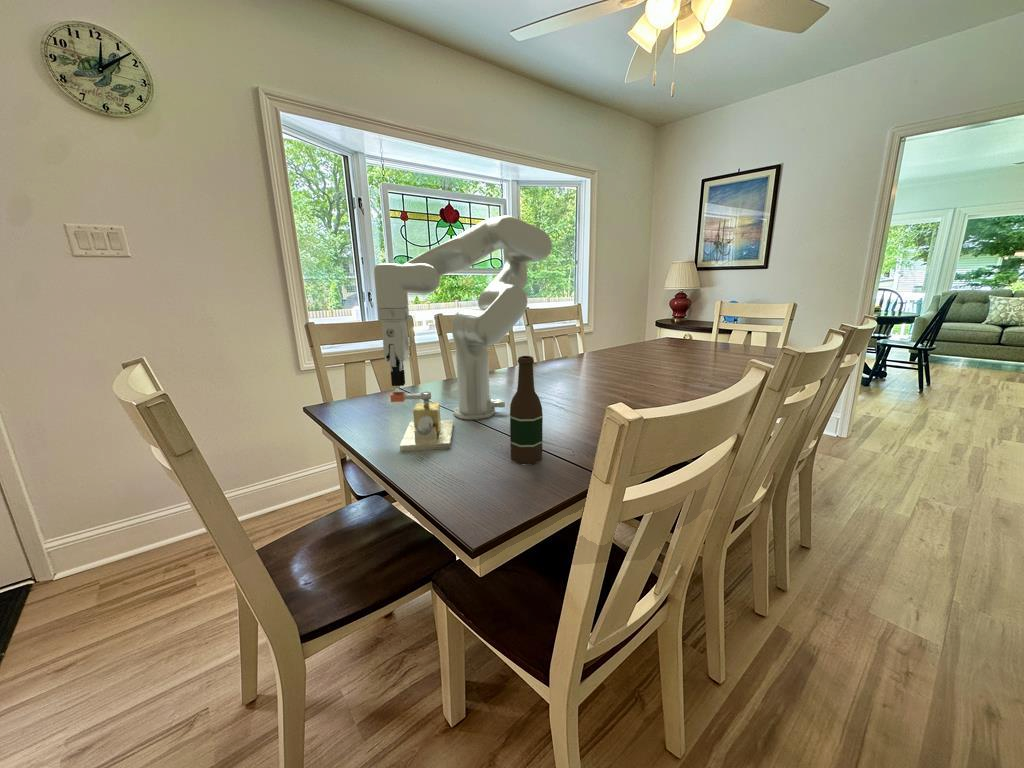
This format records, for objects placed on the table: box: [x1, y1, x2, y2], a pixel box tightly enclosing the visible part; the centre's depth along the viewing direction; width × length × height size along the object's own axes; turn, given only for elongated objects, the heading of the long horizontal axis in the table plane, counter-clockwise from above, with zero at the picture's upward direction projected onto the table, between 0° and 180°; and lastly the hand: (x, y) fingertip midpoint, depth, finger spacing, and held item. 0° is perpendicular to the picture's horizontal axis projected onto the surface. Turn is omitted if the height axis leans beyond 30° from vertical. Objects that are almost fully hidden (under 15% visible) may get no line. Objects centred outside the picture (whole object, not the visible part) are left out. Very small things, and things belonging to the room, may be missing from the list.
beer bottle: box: [509, 355, 544, 465], centre depth 89 cm, size 8×8×24 cm
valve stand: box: [399, 399, 454, 452], centre depth 103 cm, size 12×16×10 cm
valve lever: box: [389, 391, 432, 403], centre depth 101 cm, size 10×3×2 cm, turn 95°
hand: (398, 385), depth 104 cm, fingers closed
